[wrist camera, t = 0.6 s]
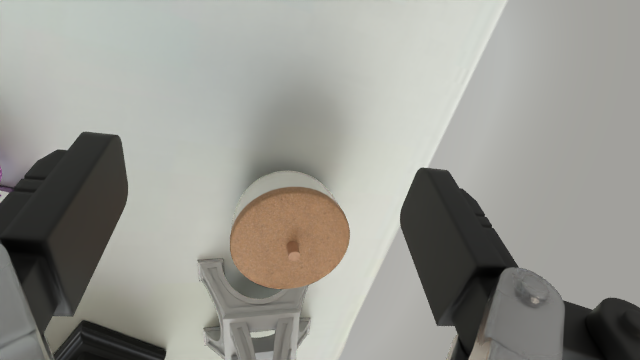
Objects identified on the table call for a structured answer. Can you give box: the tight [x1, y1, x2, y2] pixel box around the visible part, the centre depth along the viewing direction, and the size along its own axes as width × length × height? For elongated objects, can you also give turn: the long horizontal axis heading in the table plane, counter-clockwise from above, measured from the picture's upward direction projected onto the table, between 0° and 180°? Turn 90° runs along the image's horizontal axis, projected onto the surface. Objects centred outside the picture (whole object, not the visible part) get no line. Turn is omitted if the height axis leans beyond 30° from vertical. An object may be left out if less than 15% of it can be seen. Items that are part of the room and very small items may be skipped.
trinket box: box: [230, 171, 350, 289], centre depth 36 cm, size 11×11×9 cm
